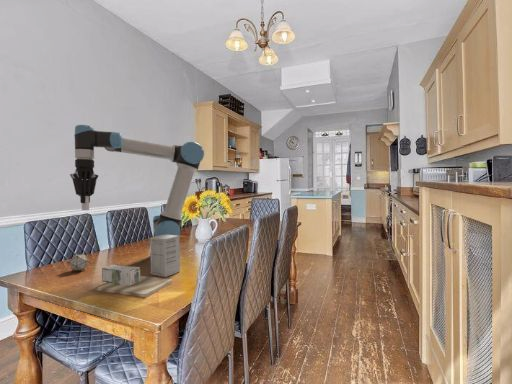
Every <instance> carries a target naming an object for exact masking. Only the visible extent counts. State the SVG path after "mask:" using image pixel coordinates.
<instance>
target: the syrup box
mask: <svg viewBox="0 0 512 384" xmlns="http://www.w3.org/2000/svg"><path fill="white" fill-rule="evenodd" d="M101 274H102V275H101V282H103V283H115V284H121V285H127V286H130V285H133V284H135V283H137V282H139V281H140V276H141V267H138V266H133V265H132V266H130V265H122V264H115V263H113V264H110V265H107V266H103V267H102V268H101Z"/></svg>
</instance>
